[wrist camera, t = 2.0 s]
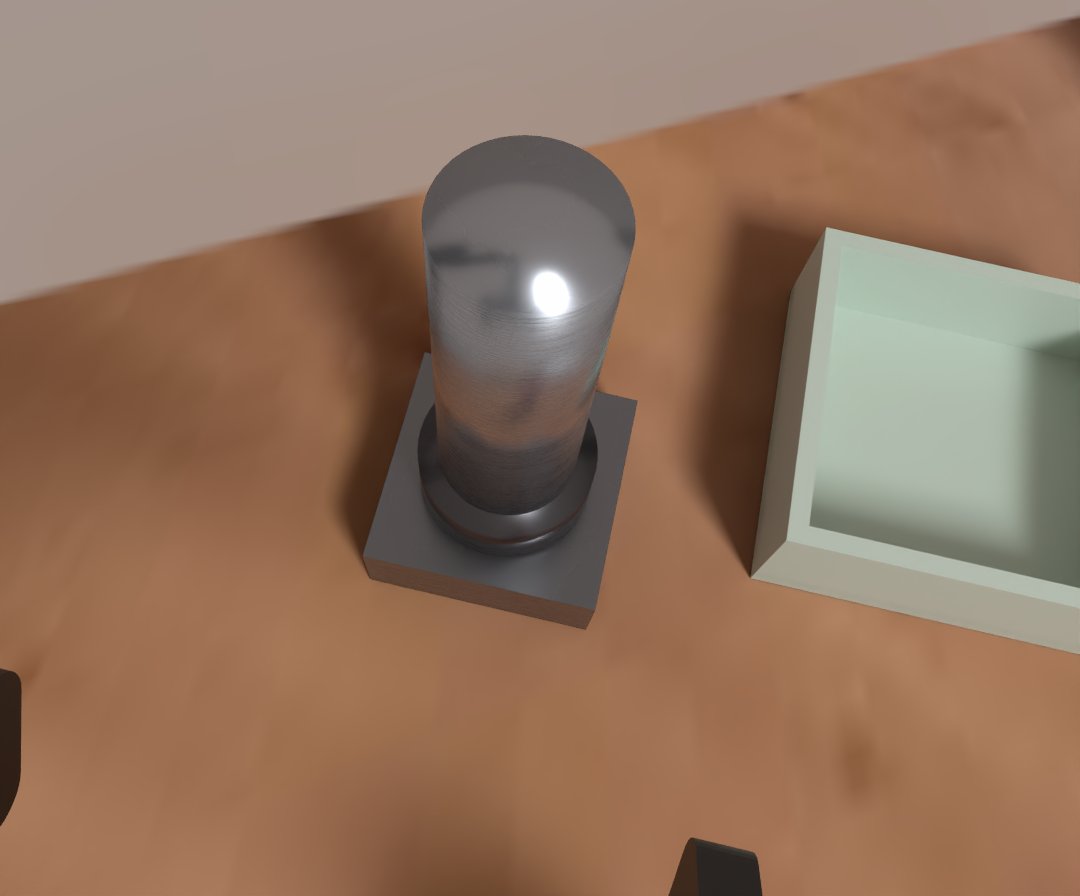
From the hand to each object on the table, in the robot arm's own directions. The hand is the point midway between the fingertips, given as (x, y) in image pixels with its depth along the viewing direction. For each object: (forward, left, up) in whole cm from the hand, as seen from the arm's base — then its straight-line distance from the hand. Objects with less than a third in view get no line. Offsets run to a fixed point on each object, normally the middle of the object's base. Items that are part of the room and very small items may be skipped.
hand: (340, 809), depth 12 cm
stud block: (0, +11, -18) cm, 21 cm away
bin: (+14, +16, -18) cm, 28 cm away
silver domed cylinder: (0, +11, -16) cm, 19 cm away
